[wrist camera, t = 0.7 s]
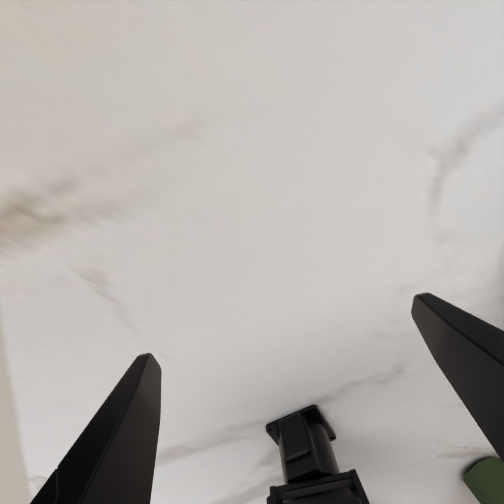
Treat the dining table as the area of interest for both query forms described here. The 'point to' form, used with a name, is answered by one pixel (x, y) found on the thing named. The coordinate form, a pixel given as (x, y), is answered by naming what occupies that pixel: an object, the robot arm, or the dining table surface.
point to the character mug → (487, 481)
